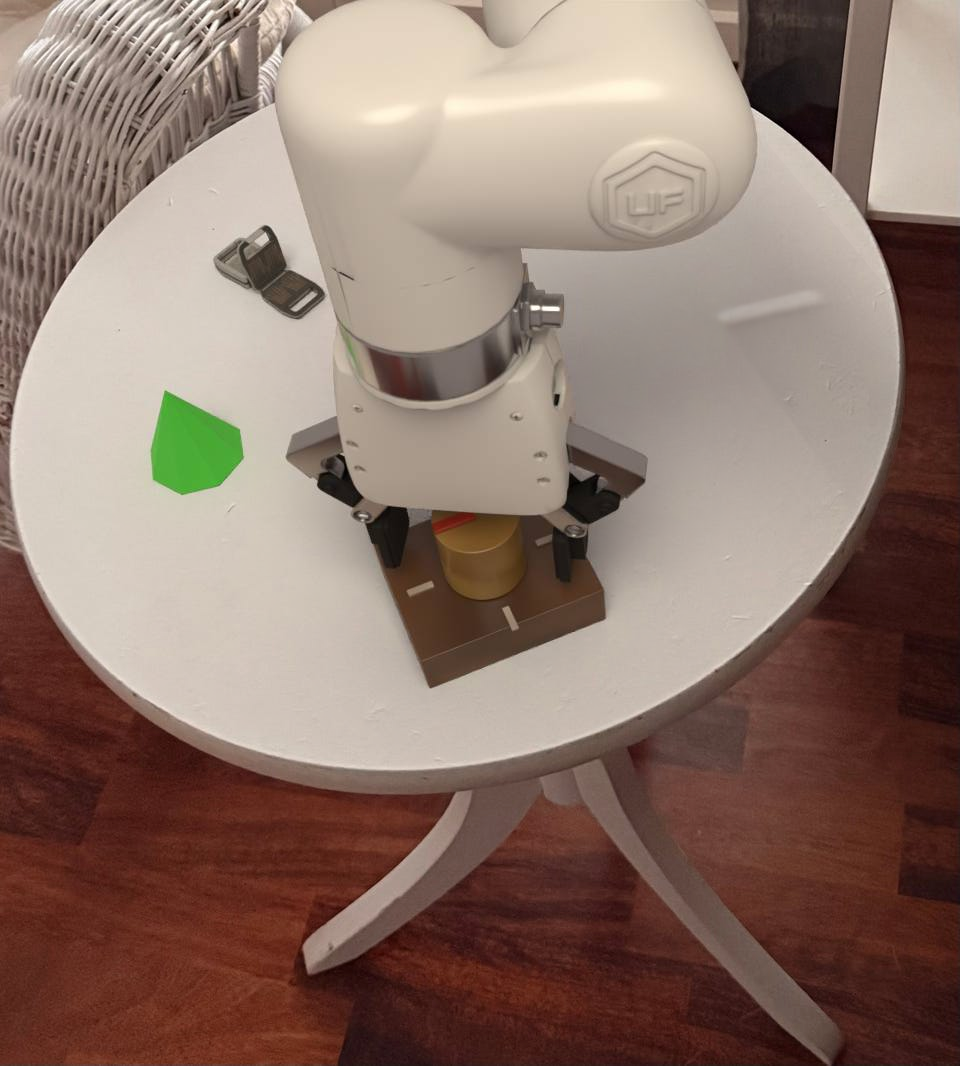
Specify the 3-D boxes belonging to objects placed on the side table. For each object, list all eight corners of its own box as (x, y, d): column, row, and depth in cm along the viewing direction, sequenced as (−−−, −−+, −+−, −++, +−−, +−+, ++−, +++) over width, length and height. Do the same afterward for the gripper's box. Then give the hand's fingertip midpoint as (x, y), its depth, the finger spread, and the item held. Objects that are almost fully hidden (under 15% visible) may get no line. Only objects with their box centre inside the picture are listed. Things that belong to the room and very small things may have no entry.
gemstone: (262, 459, 74) (235, 394, 69) (175, 511, 73) (140, 449, 68) (217, 399, 77) (187, 333, 73) (131, 449, 76) (95, 385, 71)
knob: (508, 517, 66) (499, 463, 62) (540, 581, 64) (532, 529, 60) (431, 547, 66) (417, 494, 62) (460, 612, 63) (447, 562, 59)
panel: (545, 502, 70) (541, 469, 68) (608, 623, 66) (606, 592, 63) (380, 566, 69) (369, 534, 67) (431, 693, 65) (422, 665, 62)
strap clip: (211, 269, 84) (192, 221, 81) (244, 243, 85) (226, 195, 82) (296, 324, 80) (280, 276, 77) (329, 296, 81) (314, 247, 78)
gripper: (661, 254, 50) (658, 502, 64) (250, 242, 53) (335, 482, 67) (645, 399, 46) (646, 629, 60) (201, 376, 49) (302, 601, 63)
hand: (481, 550), depth 64 cm, fingers open, 8 cm apart
